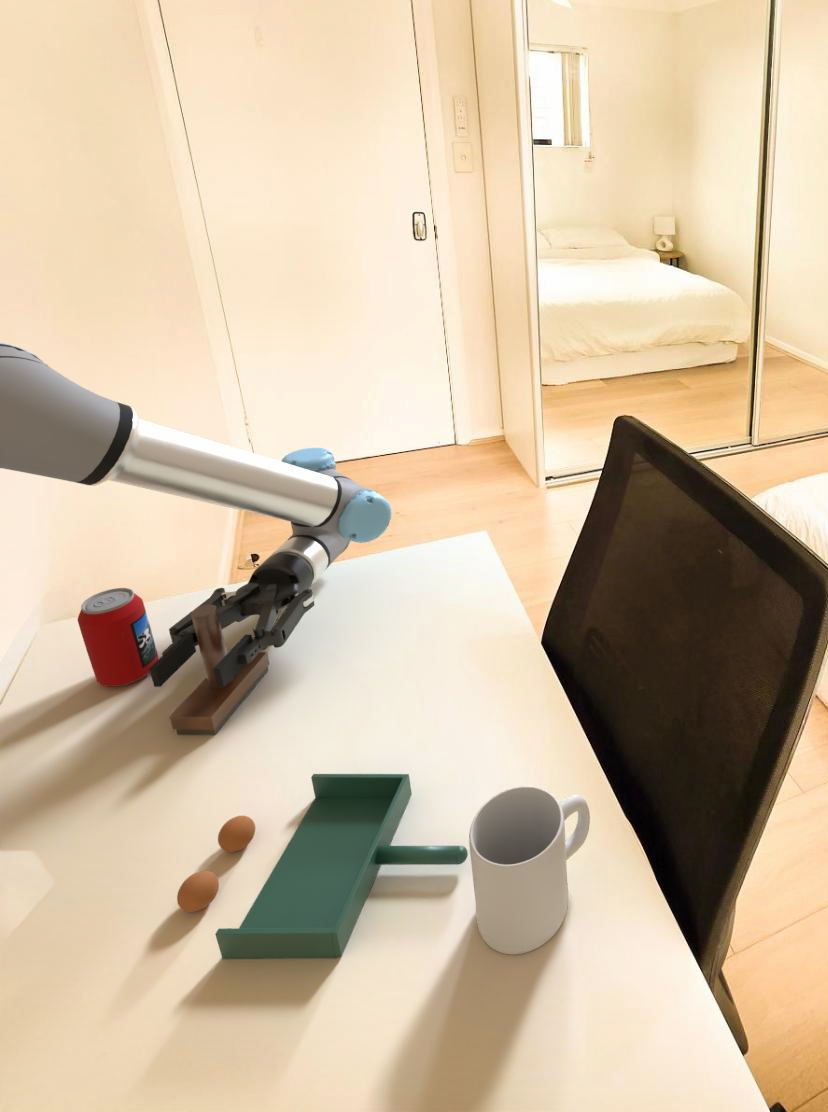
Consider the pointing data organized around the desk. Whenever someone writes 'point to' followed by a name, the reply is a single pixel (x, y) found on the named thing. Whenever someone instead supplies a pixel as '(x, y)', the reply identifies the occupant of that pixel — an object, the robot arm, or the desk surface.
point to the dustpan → (330, 869)
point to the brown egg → (198, 891)
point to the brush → (208, 700)
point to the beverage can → (117, 636)
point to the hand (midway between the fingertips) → (186, 677)
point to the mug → (523, 865)
